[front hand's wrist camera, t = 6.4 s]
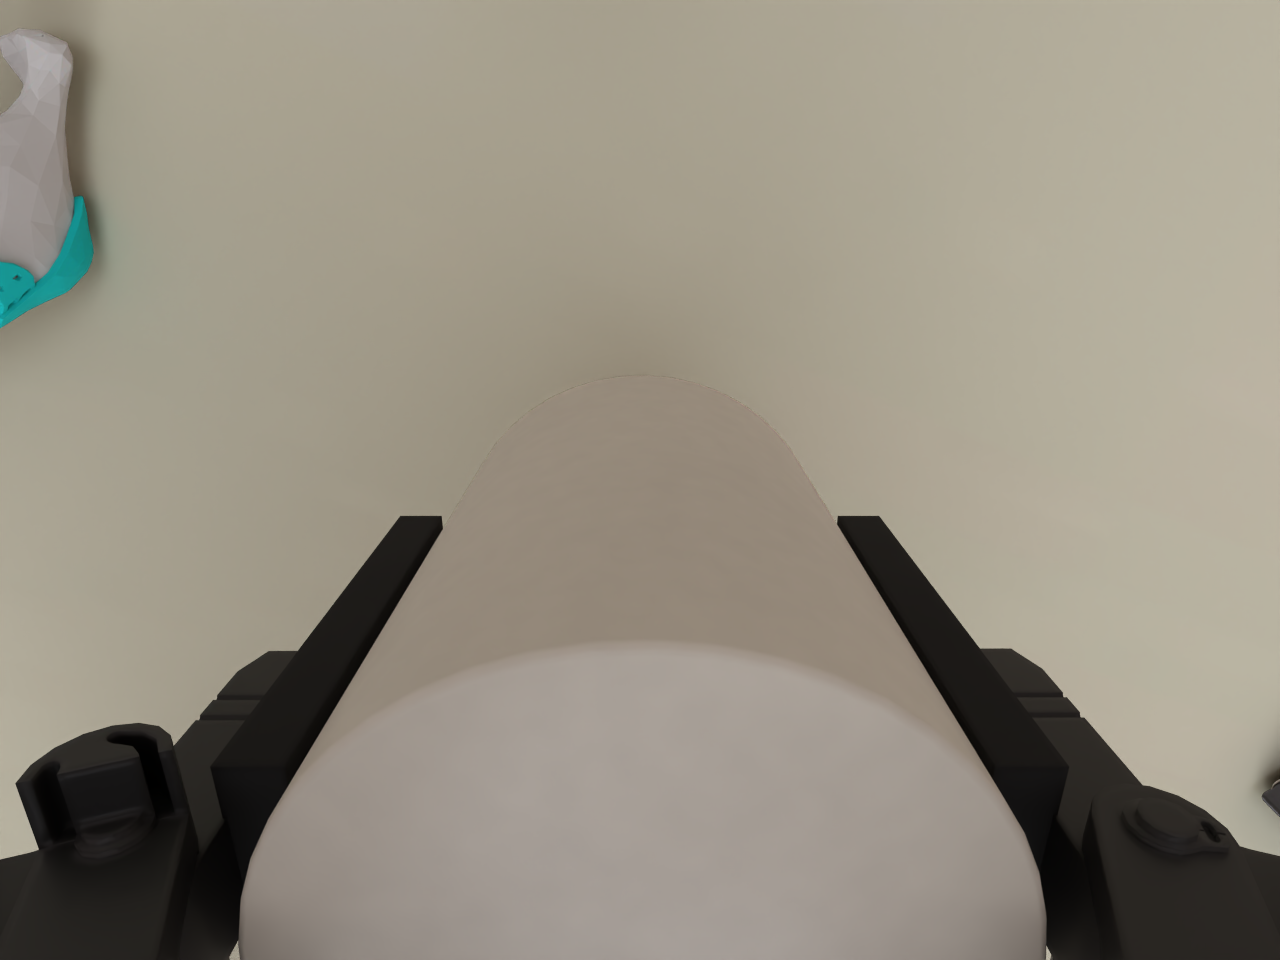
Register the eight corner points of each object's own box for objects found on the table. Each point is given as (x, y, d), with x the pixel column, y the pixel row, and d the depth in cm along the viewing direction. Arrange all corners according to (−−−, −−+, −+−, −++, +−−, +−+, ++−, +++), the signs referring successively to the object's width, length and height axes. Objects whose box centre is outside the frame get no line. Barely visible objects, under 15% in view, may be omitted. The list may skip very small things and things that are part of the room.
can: (611, 294, 14) (560, 453, 5) (892, 523, 15) (1223, 947, 7) (395, 572, 16) (91, 1033, 7) (664, 750, 17) (690, 1306, 9)
